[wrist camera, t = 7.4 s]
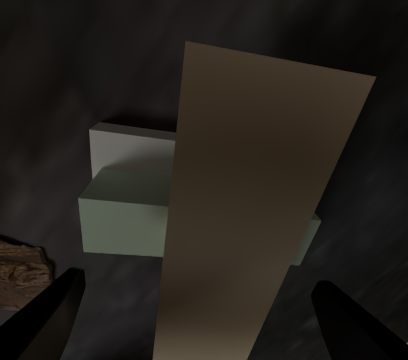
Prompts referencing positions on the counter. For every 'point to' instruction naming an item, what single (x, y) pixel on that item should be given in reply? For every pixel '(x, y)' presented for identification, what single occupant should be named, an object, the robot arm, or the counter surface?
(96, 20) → the counter surface
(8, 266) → the fossil slab
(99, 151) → the fulcrum board
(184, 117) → the beech bar
